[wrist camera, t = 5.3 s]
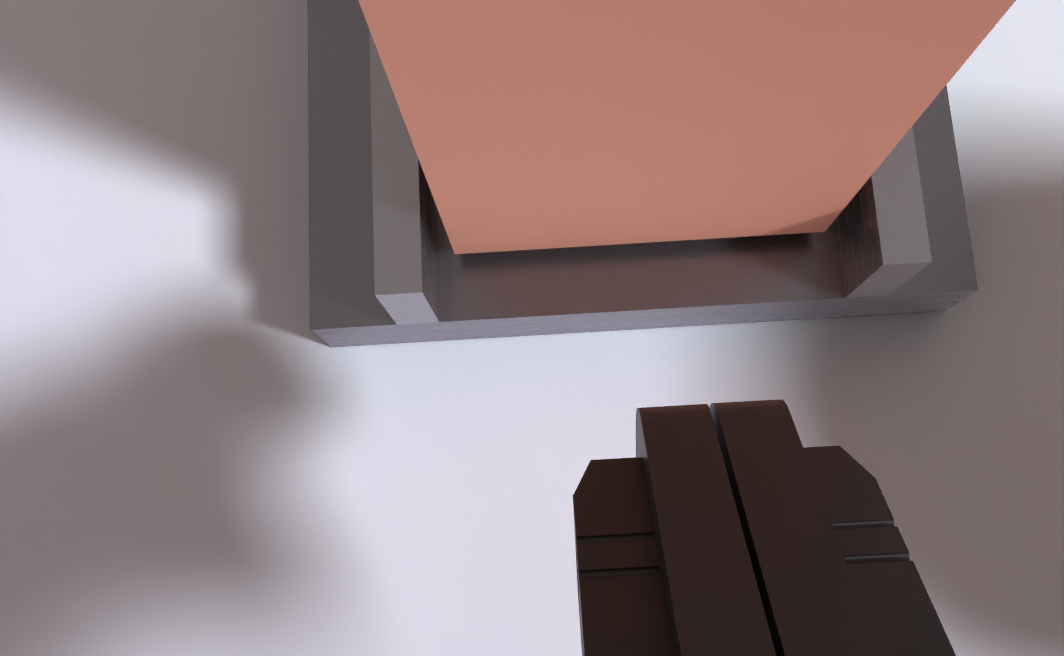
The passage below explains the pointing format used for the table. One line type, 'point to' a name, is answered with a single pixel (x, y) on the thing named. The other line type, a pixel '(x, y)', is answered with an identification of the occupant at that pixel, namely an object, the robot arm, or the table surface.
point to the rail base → (593, 271)
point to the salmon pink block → (660, 110)
